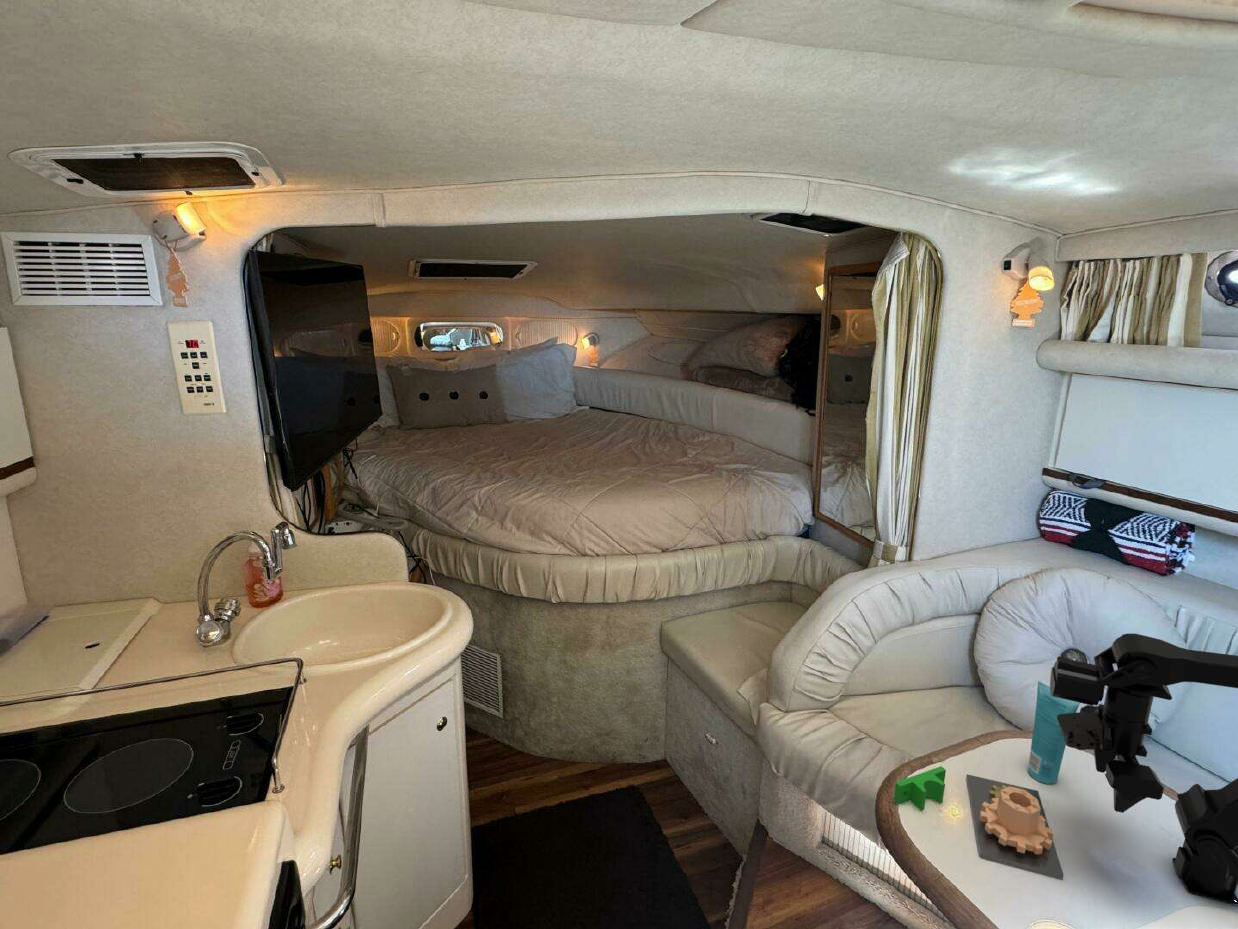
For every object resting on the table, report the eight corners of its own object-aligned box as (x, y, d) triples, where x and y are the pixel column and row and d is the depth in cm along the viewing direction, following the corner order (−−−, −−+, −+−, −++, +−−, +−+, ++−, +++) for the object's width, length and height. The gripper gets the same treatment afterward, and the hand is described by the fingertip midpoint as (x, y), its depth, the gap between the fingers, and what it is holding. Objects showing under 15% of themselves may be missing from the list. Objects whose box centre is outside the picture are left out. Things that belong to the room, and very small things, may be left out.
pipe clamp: (908, 817, 115) (910, 796, 114) (893, 802, 119) (895, 782, 117) (954, 798, 119) (957, 779, 118) (938, 784, 122) (941, 765, 121)
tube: (1068, 781, 122) (1086, 697, 117) (1056, 792, 120) (1073, 707, 114) (1028, 758, 128) (1043, 677, 123) (1015, 768, 126) (1030, 686, 120)
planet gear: (1044, 813, 112) (1049, 786, 111) (1059, 862, 103) (1065, 833, 101) (976, 796, 116) (980, 770, 115) (984, 842, 107) (989, 814, 105)
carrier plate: (1036, 795, 119) (1043, 764, 117) (1062, 880, 102) (1070, 845, 100) (966, 778, 124) (970, 748, 122) (979, 857, 107) (985, 823, 105)
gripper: (1052, 669, 112) (1039, 743, 116) (1083, 737, 95) (1066, 820, 99) (1128, 682, 108) (1112, 757, 112) (1174, 754, 91) (1153, 840, 95)
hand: (1108, 790), depth 105 cm, fingers open, 9 cm apart
